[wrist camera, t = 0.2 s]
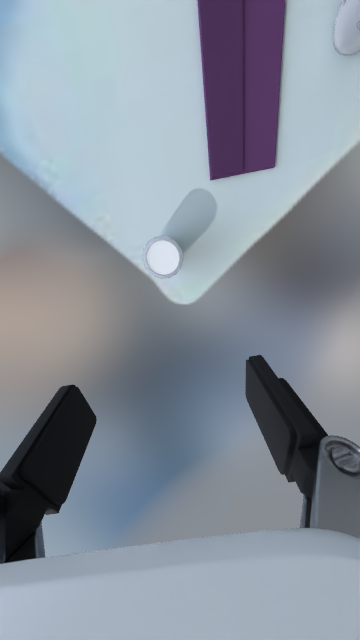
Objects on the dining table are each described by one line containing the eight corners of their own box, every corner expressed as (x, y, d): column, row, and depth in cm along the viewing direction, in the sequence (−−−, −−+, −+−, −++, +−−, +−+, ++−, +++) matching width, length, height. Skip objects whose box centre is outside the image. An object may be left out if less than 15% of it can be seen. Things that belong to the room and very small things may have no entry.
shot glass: (182, 236, 34) (184, 237, 28) (179, 271, 37) (181, 280, 31) (146, 233, 34) (141, 234, 28) (147, 269, 37) (142, 277, 31)
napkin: (195, -23, 21) (196, -32, 21) (286, -45, 21) (290, -55, 20) (210, 180, 30) (211, 179, 30) (273, 167, 30) (276, 166, 29)
